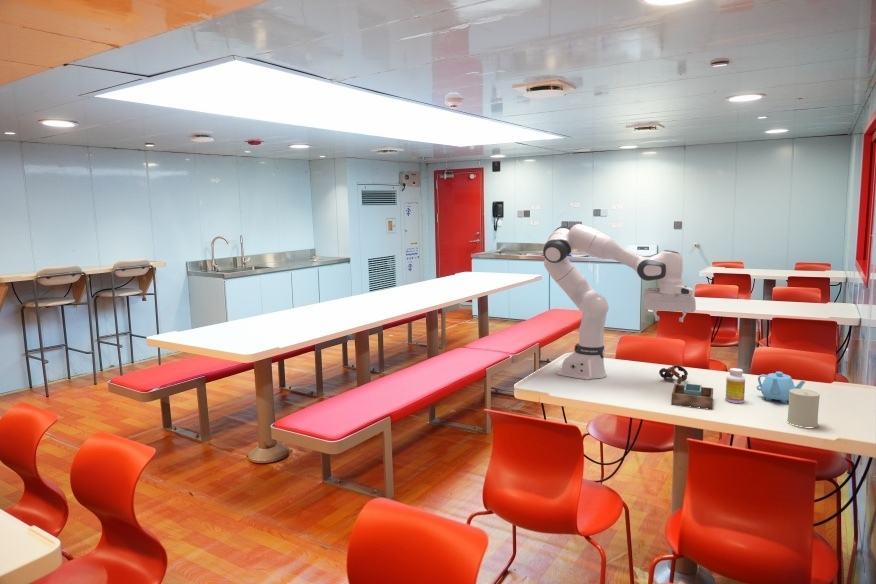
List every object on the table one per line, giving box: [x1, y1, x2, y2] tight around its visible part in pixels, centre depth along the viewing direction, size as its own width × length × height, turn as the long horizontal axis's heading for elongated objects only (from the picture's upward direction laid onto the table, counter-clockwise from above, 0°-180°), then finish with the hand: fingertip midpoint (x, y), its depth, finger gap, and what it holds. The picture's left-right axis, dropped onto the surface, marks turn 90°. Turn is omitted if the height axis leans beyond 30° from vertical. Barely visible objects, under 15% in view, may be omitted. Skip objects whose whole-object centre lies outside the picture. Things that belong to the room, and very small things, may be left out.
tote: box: [684, 383, 703, 396], centre depth 228 cm, size 10×6×5 cm, turn 154°
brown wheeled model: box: [658, 364, 689, 385], centre depth 257 cm, size 12×9×8 cm
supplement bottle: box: [725, 367, 746, 404], centre depth 228 cm, size 7×7×13 cm
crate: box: [670, 383, 714, 410], centre depth 228 cm, size 14×14×4 cm
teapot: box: [756, 371, 806, 404], centre depth 229 cm, size 15×14×11 cm
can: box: [786, 388, 821, 428], centre depth 202 cm, size 9×9×12 cm
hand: (669, 321), depth 244 cm, fingers open, 8 cm apart
